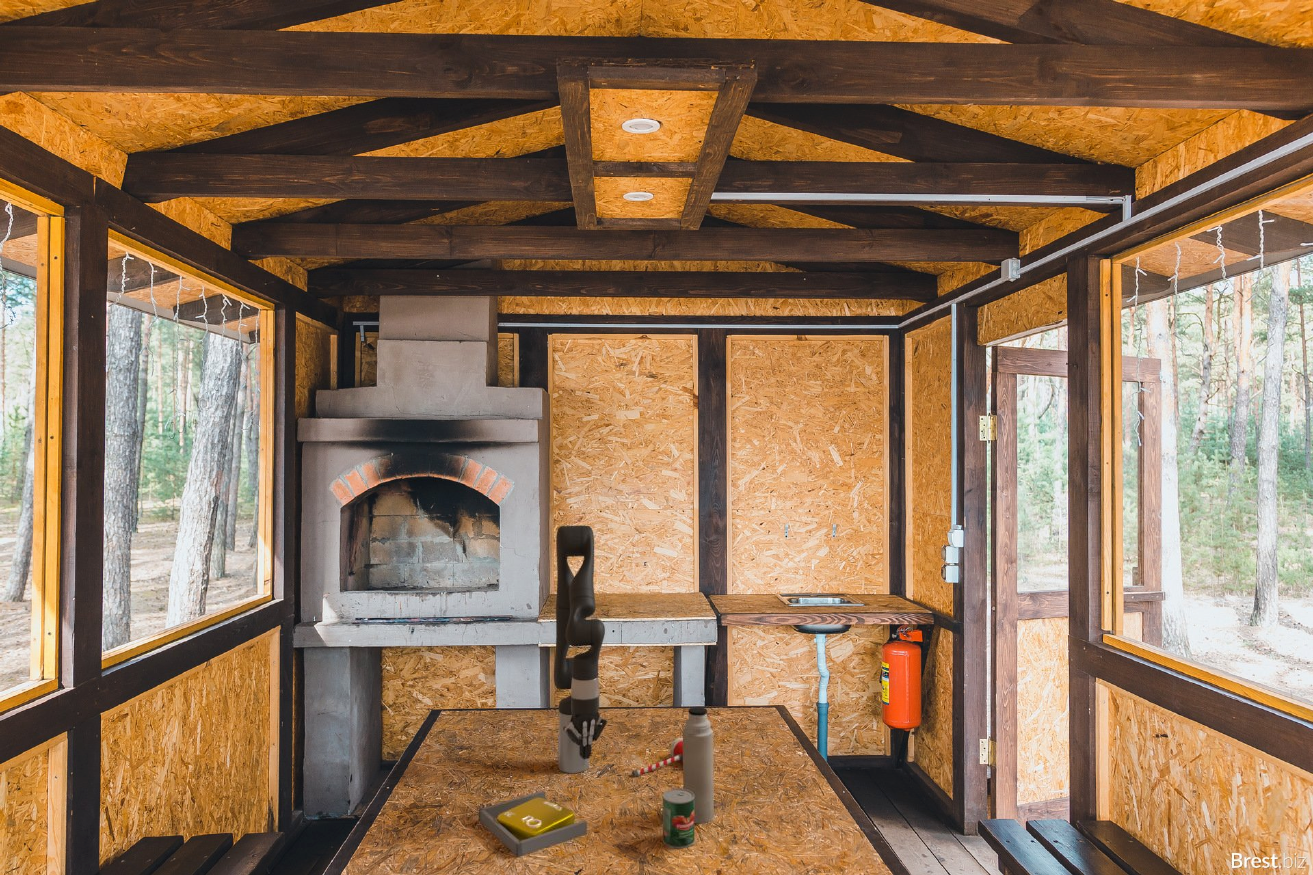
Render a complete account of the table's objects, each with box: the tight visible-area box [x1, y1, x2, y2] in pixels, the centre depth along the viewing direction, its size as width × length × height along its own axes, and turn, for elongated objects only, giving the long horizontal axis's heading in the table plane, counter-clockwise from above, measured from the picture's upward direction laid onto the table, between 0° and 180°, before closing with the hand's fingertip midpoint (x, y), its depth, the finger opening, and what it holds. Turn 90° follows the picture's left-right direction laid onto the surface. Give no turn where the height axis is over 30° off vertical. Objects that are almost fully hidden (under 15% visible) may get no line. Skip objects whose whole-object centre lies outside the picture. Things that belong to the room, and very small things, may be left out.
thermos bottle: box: [682, 706, 715, 824], centre depth 202 cm, size 8×8×28 cm
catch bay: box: [478, 790, 588, 858], centre depth 196 cm, size 23×19×3 cm
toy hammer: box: [631, 737, 683, 778], centre depth 233 cm, size 23×12×6 cm, turn 121°
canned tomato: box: [662, 788, 696, 849], centre depth 189 cm, size 8×8×11 cm
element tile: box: [497, 797, 576, 841], centre depth 195 cm, size 15×15×5 cm
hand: (585, 757), depth 206 cm, fingers closed
